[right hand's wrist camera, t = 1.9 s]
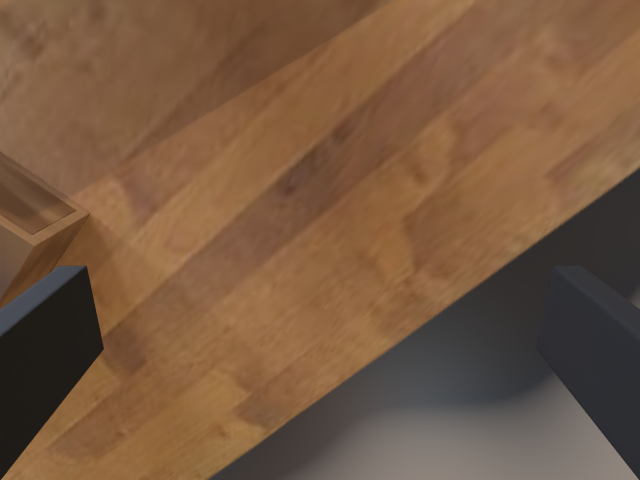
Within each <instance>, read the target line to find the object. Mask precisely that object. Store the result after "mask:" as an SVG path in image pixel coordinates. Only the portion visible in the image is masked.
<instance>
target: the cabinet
mask: <svg viewBox="0 0 640 480" xmlns="http://www.w3.org/2000/svg"><path fill="white" fill-rule="evenodd" d="M89 214H90V213H89V212H87V211H86V210H84V209H83V208H81V207H80V206H79V205H77V204H76V203H74V202H73V201H71V200H70V199H68V198H67V197H65V196H64V195H62V194H61V193H59V192H58V191H57V190H55V189H54V188H52V187H51V186H49V185H48V184H46V183H45V182H43V181H42V180H40V179H39V178H37V177H36V176H35V175H33V174H32V173H30V172H29V171H27V170H26V169H24V168H23V167H21V166H20V165H18V164H17V163H15V162H14V161H13V160H11V159H10V158H8V157H7V156H5V155H4V154H2V153H1V152H0V309H1V308H3V307H4V306H6V305H7V304H8V303H10V302H11V301H12V300H14V299H15V298H16V297H18V296H19V295H20V294H22V293H23V292H25V291H26V290H27V289H29V288H30V287H31V286H33V285H34V284H35V283H37V282H38V281H40V280H41V279H42V278H44V277H45V276H46V275H48V274H49V273H50V272H51V271H52V270H53V268H54V267H55V265H56V264H57V262H58V261H59V259H60V258H61V256H62V255H63V253H64V252H65V250H66V249H67V247H68V246H69V244H70V243H71V241H72V240H73V238H74V237H75V235H76V234H77V232H78V231H79V229H80V228H81V226H82V225H83V223H84V222H85V220H86V219H87V217H88V215H89Z"/></svg>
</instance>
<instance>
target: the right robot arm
mask: <svg viewBox="0 0 640 480" xmlns="http://www.w3.org/2000/svg"><path fill="white" fill-rule="evenodd" d="M103 349H104V347H103V342H102V337H101V332H100V328H99V323H98V318H97V313H96V308H95V304H94V299H93V294H92V289H91V284H90V280H89V275H88V270H87V266H59V267H57V268H56V269H55V270H53V271H52V272H50V273H49V274H48V275H46V276H45V277H44V278H42V279H41V280H40V281H38V282H37V283H35V284H34V285H33V286H31V287H30V288H29V289H27V290H26V291H25V292H23V293H22V294H20V295H19V296H18V297H16V298H15V299H14V300H12V301H11V302H10V303H8V304H7V305H6V306H4V307H3V308H1V309H0V480H1V479H2V478H3V476H4V475H5V474H6V473H7V471H8V470H9V469H10V467H11V466H12V465H13V464H14V462H15V461H16V460H17V459H18V457H19V456H20V455H21V453H22V452H23V451H24V450H25V448H26V447H27V446H28V445H29V443H30V442H31V441H32V440H33V438H34V437H35V436H36V434H37V433H38V432H39V431H40V429H41V428H42V427H43V426H44V424H45V423H46V422H47V420H48V419H49V418H50V417H51V415H52V414H53V413H54V412H55V410H56V409H57V408H58V407H59V405H60V404H61V403H62V401H63V400H64V399H65V398H66V396H67V395H68V394H69V393H70V391H71V390H72V389H73V387H74V386H75V385H76V384H77V382H78V381H79V380H80V379H81V377H82V376H83V375H84V373H85V372H86V371H87V370H88V368H89V367H90V366H91V365H92V363H93V362H94V361H95V360H96V358H97V357H98V356H99V354H100V353H101V352H102V351H103ZM536 349H537V351H538V352H539V353H540V354H541V356H542V357H543V358H544V360H545V361H546V362H547V363H548V365H549V366H550V367H551V368H552V370H553V371H554V372H555V373H556V375H557V376H558V377H559V378H560V380H561V381H562V382H563V384H564V385H565V386H566V387H567V389H568V390H569V391H570V392H571V394H572V395H573V396H574V398H575V399H576V400H577V401H578V403H579V404H580V405H581V406H582V408H583V409H584V410H585V412H586V413H587V414H588V415H589V417H590V418H591V419H592V420H593V422H594V423H595V424H596V426H597V427H598V428H599V429H600V431H601V432H602V433H603V434H604V436H605V437H606V438H607V440H608V441H609V442H610V443H611V445H612V446H613V447H614V448H615V450H616V451H617V452H618V453H619V455H620V456H621V457H622V459H623V460H624V461H625V462H626V464H627V465H628V466H629V467H630V469H631V470H632V471H633V473H634V474H635V475H636V476H637V478H638V479H639V480H640V309H639V308H637V307H636V306H634V305H633V304H632V303H630V302H629V301H628V300H626V299H625V298H624V297H622V296H621V295H619V294H618V293H617V292H615V291H614V290H613V289H611V288H610V287H609V286H607V285H606V284H604V283H603V282H602V281H600V280H599V279H598V278H596V277H595V276H594V275H592V274H591V273H589V272H588V271H587V270H585V269H584V268H583V267H581V266H553V270H552V275H551V280H550V284H549V289H548V294H547V299H546V304H545V309H544V313H543V318H542V323H541V328H540V332H539V337H538V342H537V347H536Z"/></svg>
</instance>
